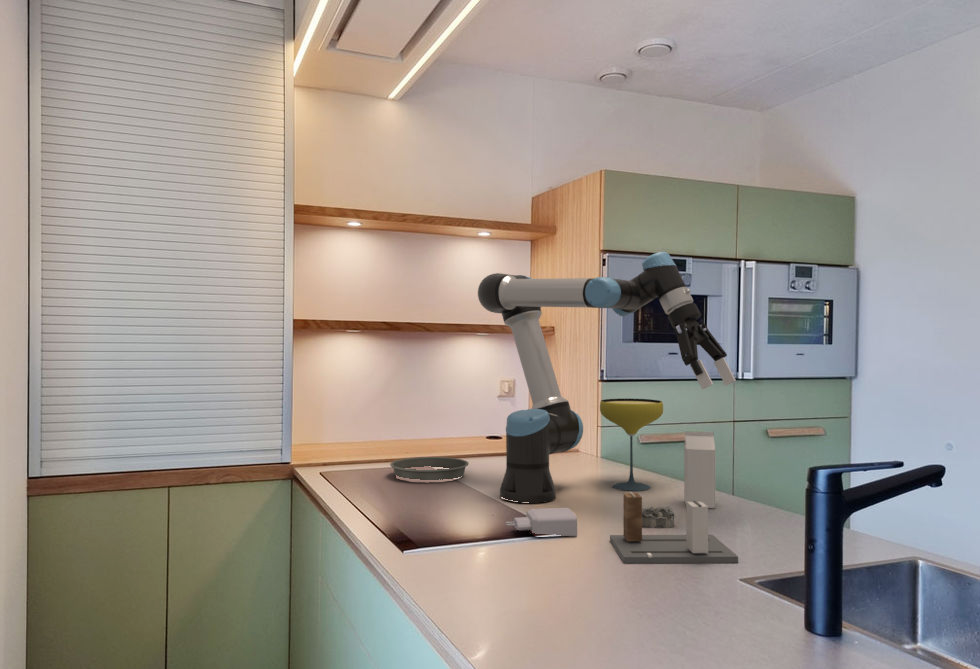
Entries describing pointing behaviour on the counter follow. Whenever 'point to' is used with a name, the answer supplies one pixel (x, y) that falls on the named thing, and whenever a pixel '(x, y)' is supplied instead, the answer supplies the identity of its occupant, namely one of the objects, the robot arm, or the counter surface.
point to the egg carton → (658, 517)
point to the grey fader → (697, 527)
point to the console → (670, 550)
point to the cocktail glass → (631, 425)
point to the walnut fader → (632, 516)
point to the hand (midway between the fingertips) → (719, 385)
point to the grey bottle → (548, 521)
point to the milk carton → (699, 468)
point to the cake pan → (453, 464)
